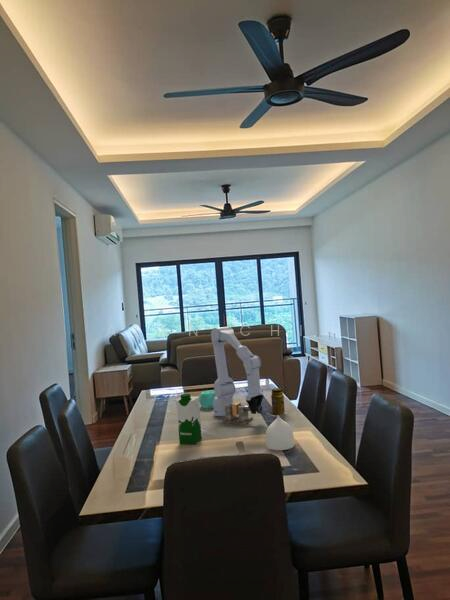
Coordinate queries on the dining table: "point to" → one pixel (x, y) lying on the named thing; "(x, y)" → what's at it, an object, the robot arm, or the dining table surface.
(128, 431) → the dining table surface
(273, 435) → the teardrop
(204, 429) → the dining table surface
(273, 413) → the condiment
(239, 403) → the block
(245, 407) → the shaft
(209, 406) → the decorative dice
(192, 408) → the milk carton
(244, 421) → the bearing stand
